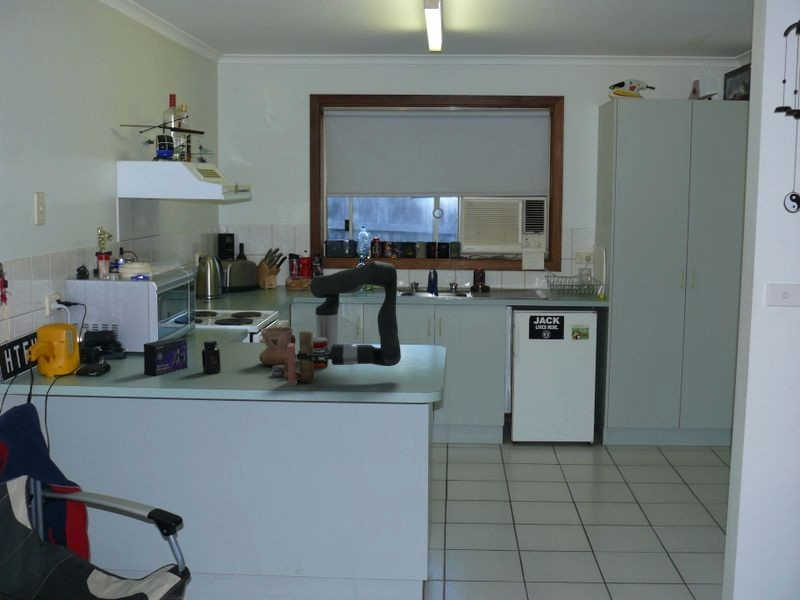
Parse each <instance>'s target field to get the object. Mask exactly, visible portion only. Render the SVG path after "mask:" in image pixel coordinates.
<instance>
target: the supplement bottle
mask: <svg viewBox="0 0 800 600" xmlns="http://www.w3.org/2000/svg"><path fill="white" fill-rule="evenodd" d="M217 346H218V344H217V340H211V339H210V340H204V341H203V347H204V348H203V349H202V350H201V361H202V372H203V374H205V373H206V375H212V374H213V375H214V373H215V374H219V373H220V372H222V365H221V350H220V348H219V347H217Z"/></svg>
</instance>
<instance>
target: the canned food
mask: <svg viewBox="0 0 800 600" xmlns="http://www.w3.org/2000/svg"><path fill="white" fill-rule="evenodd" d="M313 348H314V349H315V348H328V343H327V338H323V337H316V336H315V337H313ZM313 358H314V357H313ZM328 366H329V360H326V361H325V362H314V368H322V369H326V368H327V367H328ZM325 367H326V368H325Z"/></svg>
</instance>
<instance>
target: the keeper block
mask: <svg viewBox="0 0 800 600" xmlns="http://www.w3.org/2000/svg"><path fill="white" fill-rule="evenodd" d="M295 353H296V342H295V343H291V342H290V343H289V345H288V346H287V358H288V378H287V380H288V381H287V383H286V386H287V387H288V386H289V387H290V386H292V387H293V386H296V384H298V380H297V379H296V371H297V370H296V359H295Z"/></svg>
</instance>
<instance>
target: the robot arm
mask: <svg viewBox="0 0 800 600" xmlns="http://www.w3.org/2000/svg"><path fill="white" fill-rule="evenodd" d="M397 272H398V271H397V268H396V266H395V265H394V264H393V263H389V262H384V261H378V260H374V261H373V260H372V261H370V262H367V263H365V264H362V265H361V266H357V267H351V268H346V269H343V270H340V271H337V272H334V273H332V274H326V275H325V274H324V275H317V276H316V275H315V276H314V277H313V278H312V280H311V281H310V284H309V291H310V293H311V295H312V296H314V298H317V299H325V300H324V301H323V303H321V304H320V305H317V306H316V308H315V335H316V336H315V337H323V338H327V343H328V348H315V349H314V348H313V353H300V350H298V353H296V360H298V361H300V360H308V361H310V362H311V361H313V362H325V361H326V360H328V361H329V360H331V364H332V365H333V366H353V365H375V366H381V367H382V366H383V367H392V366H393V367H394V366H396V365H398V364H399V363H400V361H401V359H402V354H401V353H402V352H401V345H400V340H399V327H398V318H397V294H398V290H397V289H398V274H397ZM364 286H372V287H379V288H384V295H385V296H384V300H383V303H382V304H381V307H380V309H379V310H378V314H377V327H378V329H377V330H378V334H379V335H378V336H379V339H380V340H379V344H380V347H376V346H374V345H372V344H369V343H368V344H355V343H340V341H339V339H340V338H339V307H340V294H351V293H355V292H358V291H361V289H362V288H363V287H364ZM312 356H313V357H314V358H312Z"/></svg>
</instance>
